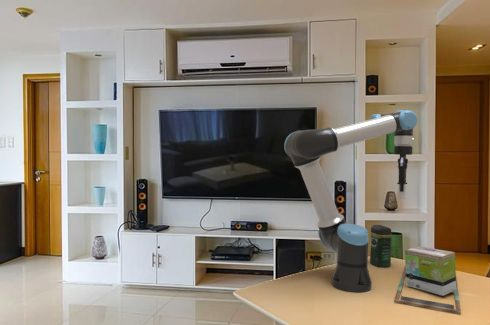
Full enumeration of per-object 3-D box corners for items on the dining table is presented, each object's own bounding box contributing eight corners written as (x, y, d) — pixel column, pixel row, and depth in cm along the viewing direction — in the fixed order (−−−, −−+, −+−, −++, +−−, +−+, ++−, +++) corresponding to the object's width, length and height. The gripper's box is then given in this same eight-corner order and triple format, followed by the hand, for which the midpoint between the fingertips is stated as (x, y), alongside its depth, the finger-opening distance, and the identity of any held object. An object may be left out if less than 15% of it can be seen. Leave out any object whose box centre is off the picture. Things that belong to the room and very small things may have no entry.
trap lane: (393, 302, 134) (394, 299, 134) (404, 267, 177) (405, 264, 177) (460, 314, 125) (461, 311, 125) (455, 274, 167) (455, 271, 167)
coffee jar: (393, 267, 177) (394, 227, 176) (378, 268, 175) (379, 227, 174) (381, 261, 186) (382, 223, 186) (367, 262, 184) (368, 223, 184)
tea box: (405, 286, 151) (403, 249, 151) (419, 281, 157) (417, 245, 157) (443, 296, 138) (441, 255, 139) (457, 290, 144) (455, 251, 144)
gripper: (411, 145, 162) (409, 201, 163) (413, 146, 173) (411, 198, 174) (392, 145, 165) (391, 199, 166) (395, 146, 177) (394, 196, 178)
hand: (401, 198), depth 170 cm, fingers closed
